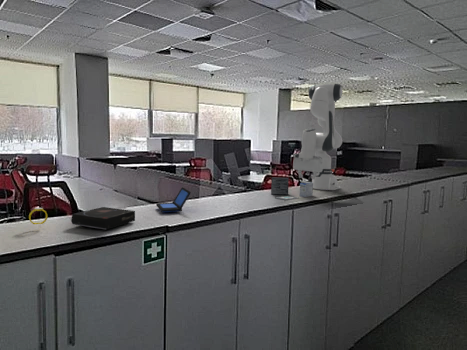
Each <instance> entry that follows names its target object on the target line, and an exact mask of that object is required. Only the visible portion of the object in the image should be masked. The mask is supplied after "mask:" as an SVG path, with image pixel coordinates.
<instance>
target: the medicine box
mask: <svg viewBox="0 0 467 350" xmlns="http://www.w3.org/2000/svg"><path fill="white" fill-rule="evenodd" d="M313 192H314V189H313V183H312V181H303V182H300V183H299V197H303V198H307V197H313Z"/></svg>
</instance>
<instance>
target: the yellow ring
mask: <svg viewBox="0 0 467 350" xmlns="http://www.w3.org/2000/svg"><path fill="white" fill-rule="evenodd" d="M36 211H37V212H41V211H42V212H44V213H45V218H44V220H43V221H41V222H34V221H32V219H31V217H32V214H34V212H36ZM28 219H29V222H30V223H31V224H32V225H43V224H45V222H47V220H48V213H47V211H46V210H44V208H43V207H34V209H32V210H31V211H30V212H29V215H28Z"/></svg>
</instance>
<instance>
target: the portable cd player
mask: <svg viewBox="0 0 467 350" xmlns="http://www.w3.org/2000/svg"><path fill="white" fill-rule="evenodd" d="M70 221H71V224H72V225H74V226H75V225H76V226H79V227H80V226H82V227H87V228H95V229H100V230H109V229H113V228H116V227H120V226H122V225H125V224H128V223H132V222H136V211H135V210H131V209H130V210H129V209H121V208H114V207H106V206H101V207H97V208H92V209H88V210H83V211H79V212H76V213H71V219H70Z"/></svg>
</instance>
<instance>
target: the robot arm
mask: <svg viewBox="0 0 467 350" xmlns="http://www.w3.org/2000/svg"><path fill="white" fill-rule="evenodd" d="M342 95H343V88H342V85H341V84H339V83H321V84H320V83H319V84H312V85H311V86H310V87H309V89H308V97H309V99H310V100H311V101H310V107H309V108H310V109H309V110H310V114H312V116H313V117H315V118H316V119H317V124H318V126H320V127H321V128H322V131H323V132H317V130H316V129H315V128H305V129H304V130H303V131H302V136H301V149H300V152H297V153H295V154H294V155H293V163H292V168H293V170H294V171H295V170H296V171H297V173H298V178H300V179H301V178H302V179H303V178H304V175H303V174H302V172H312V176H311V182H312V183H313V190H322V191H326V190H327V191H328V190H329V191H335V190H339V189H342V187H341V186H339V184H338V183H339V181H338V179H337V178H336V177H335V176H334V175H333V173H334V172H335V168H334V169H332V157H331V155H329V154H328V153H329V152H331V151H333V150H335V149H339V148H340V147H341V146H342V144H343V137H342V136H341V134H340V133H339V132H338V131H337V129H336V126H335V117H336V116H335V113H336V103H337V101H339V100H340V99H341V98H342ZM327 152H328V153H327Z"/></svg>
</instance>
